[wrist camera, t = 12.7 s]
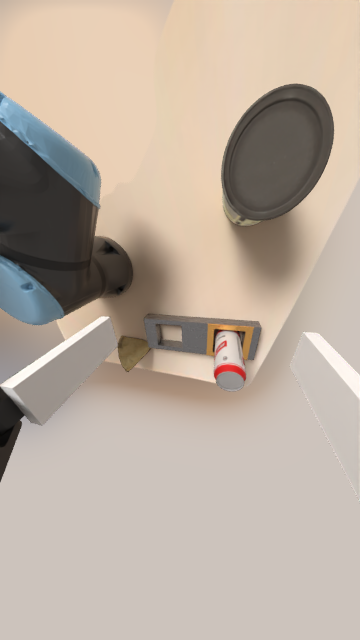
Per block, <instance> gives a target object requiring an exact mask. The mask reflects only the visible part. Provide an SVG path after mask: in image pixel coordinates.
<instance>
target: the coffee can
mask: <svg viewBox="0 0 360 640" xmlns="http://www.w3.org/2000/svg"><path fill="white" fill-rule="evenodd" d="M333 138H334V123H333V117H332V113H331V110H330V107H329V105H328V103H327V101H326V99H325V98H324V97H323V96H322V95H321V94H320V93H319V92H318V91H317V90H316V89H314V88H312V87H310V86H306V85H302V84H289V85H284V86H281V87H278V88H276V89H273V90H271V91H270V92H268V93H266V94H265V95H263V96H262V97H261V98H259V99H258V100H257V101H256V102H255V103H254V104H253V105H252V106H251V107H250V108H249V109H248V110H247V111H246V112H245V113H244V115H243V116H242V117H241V119H240V120H239V122H238V123H237V125H236V126H235V128H234V130H233V132H232V134H231V136H230V138H229V140H228V143H227V146H226V149H225V152H224V156H223V162H222V170H221V180H222V188H223V195H222V203H223V208H224V211H225V213H226V216H227V217H228V218H229V219H230V220H231V221H232V222H233V223H235V224H237V225H240V226H251V225H255V224H257V223H259V222H261V221H264V220H269V219H273V218H276V217H279V216H281V215H283V214H285V213H287V212H288V211H290V210H291V209H293V208H294V207H295V206H297V205H298V204H299V203H300V202H301V201H302V200H303V199H304V198H305V197H306V196H307V195H308V194H309V193H310V192H311V191H312V189H313V188H314V187H315V185H316V184H317V182H318V180H319V179H320V177H321V175H322V173H323V171H324V169H325V167H326V165H327V162H328V159H329V156H330V153H331V149H332V144H333Z"/></svg>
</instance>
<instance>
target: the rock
mask: <svg viewBox="0 0 360 640" xmlns="http://www.w3.org/2000/svg"><path fill="white" fill-rule="evenodd" d="M150 349H151V348H150V347H148V342H146V341H144V340H141V339H136V338H127V337H124V336H121V338H120V339H119V343H118V353H119V359H120V361H121V364H122V366H123V368H124V369H125V370H126V371H127V372H129V371H130V370H131V369H132V368H133V367H134V366H135V365H136V364H137V363H138V362H139V361H140V360H141V359H142V358H143V357H144V355H146V354H147V352H148V351H149V350H150Z"/></svg>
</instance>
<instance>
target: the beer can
mask: <svg viewBox="0 0 360 640" xmlns="http://www.w3.org/2000/svg"><path fill="white" fill-rule="evenodd" d="M214 377H215V379H216V383H217V385H218V386H219V387H220V388H221V389H224V390H226V391H238V390H240V389H241V388H243V386H244V381H245V379H246V370H245V364H244V358H243V353H242V347H241V341H240V336H239V333H238V332H237V331H233V330H221V329H220V330H219V331H218V332H217V334H216V339H215V357H214Z"/></svg>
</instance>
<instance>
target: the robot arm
mask: <svg viewBox="0 0 360 640" xmlns="http://www.w3.org/2000/svg"><path fill="white" fill-rule="evenodd" d="M100 187H101V177H100V173H99V171H98V169H97V167H96V165H95V164H94V163H93V161H92V160H91V159H90V158H88V157H87V156H86V155H85V154H84V153H82V152H81V151H80V150H79V149H77V148H76V147H75V146H74V145H72V144H71V143H70V142H69V141H67V140H66V139H64V138H63V137H62V136H61V135H59V134H58V133H57V132H55V131H54V130H52V129H51V128H50V127H49V126H47V125H46V124H44V123H43V122H42V121H41V120H39V119H38V118H37V117H35V116H34V115H32V114H31V113H30V112H28V111H27V110H26V109H24V108H23V107H22V106H20V105H19V104H17V103H16V102H15V101H13V100H12V99H10V98H8V97H7V96H6V95H4V94H3V93H2V92H0V308H1V309H2V310H4V311H5V312H7V313H8V314H9V315H11V316H13V317H14V318H16V319H18V320H20V321H22V322H25V323H27V324H32V325H43V324H47V323H49V322H52V321H54V320H56V319H61V318H63V317H64V316H65V315H67V314H69V313H71V312H73V311H75V310H77V309H79V308H81V307H82V306H84V305H86V304H88V303H90V302H92V301H94V300H96V299H98V298H111V297H116V296H119V295H120V294H122V293H124V292H125V291H126V290H127V289H128V288H129V287H130V285H131V282H132V276H133V272H132V266H131V262H130V260H129V258H128V256H127V254H126V252H125V251H124V250H123V248H122V247H121V246H120V245H119V244H117V243H116V242H115V241H113V240H112V239H109V238H107V237H103V236H95V229H96V223H97V216H98V210H99V209H100V204H99V200H100ZM117 346H118V343H117V340H116V336H115V332H114V329H113V325H112V322H111V318H110V317H104V316H101V317H100V318H98V319H97V320H95V321H94V322H92V323H91V324H89V325H88V326H87V327H85V328H84V329H82V330H81V331H79V332H78V333H76V334H75V335H73V336H72V337H70V338H69V339H67V340H66V341H64V342H63V343H61V344H60V345H58V346H57V347H55V348H54V349H52V350H51V351H49V352H48V353H46V354H44V355H43V356H42V357H40V358H38V359H37V360H36V361H34V362H32V363H31V364H30V365H29V366H27V367H25V368H24V369H22V370H20V371H19V372H18V373H16V374H15V375H13V376H12V377H10V378H9V379H7V380H6V381H4V382H3V383H1V384H0V482H1V479H2V476H3V474H4V471H5V468H6V466H7V463H8V460H9V458H10V455H11V453H12V450H13V447H14V445H15V441H16V439H17V437H18V434H19V431H20V429H21V426H22V422H21V421H20V419H21V418H22V417H23V416H26V417H27V419H28V420H29V421H30V422H31V423H35V424H38V425H41V426H42V425H44V424H45V422H46V421H47V420H48V419H49V418H50V417H51V416H52V415H53V414H54V413H55V412H56V411H57V410H58V409H59V408H60V407H61V406H62V404H63V403H64V402H65V401H66V400H67V399H68V398H69V397H70V396H71V395H72V394H73V393H74V392H75V391H76V390H77V388H78V387H79V386H80V385H81V384H82V383H83V382H84V381H85V380H86V379H87V378H88V377H89V376H90V375H91V374H92V373H93V372H94V370H95V369H96V368H97V367H98V366H99V365H100V364H101V363H102V362H103V361H104V360H105V359H106V358H107V357H108V356H109V355H110V354H111V352H112V351H113V350H114V349H115V348H116V347H117ZM290 368H291V370H292V372H293V374H294V376H295V378H296V380H297V382H298V384H299V385H300V387H301V389H302V391H303V393H304V395H305V397H306V399H307V401H308V403H309V405H310V407H311V408H312V411H313V413H314V415H315V416H316V418H317V420H318V422H319V424H320V426H321V428H322V430H323V432H324V434H325V436H326V438H327V440H328V442H329V444H330V446H331V447H332V449H333V451H334V453H335V455H336V457H337V459H338V461H339V463H340V465H341V467H342V469H343V471H344V473H345V475H346V476H347V478H348V480H349V482H350V484H351V486H352V488H353V490H354V492H355V494H356V496H357V498H358V500H359V502H360V375H359V374H358V373H357V372H356V371H355V370H354V369H353V368H352V367H351V366H350V365H349V364H348V363H347V362H346V361H345V360H344V359H343V358H342V357H341V356H340V355H339V354H338V353H337V352H336V351H335V350H334V349H333V348H332V347H331V346H330V345H329V344H328V343H327V342H326V341H325V340H324V339H323V338H322V337H321V336H320V335H319V334H318V333H309V332H303V333H302V336H301V339H300V341H299V344H298V346H297V349H296V351H295V354H294V357H293V359H292V362H291V364H290Z"/></svg>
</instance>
